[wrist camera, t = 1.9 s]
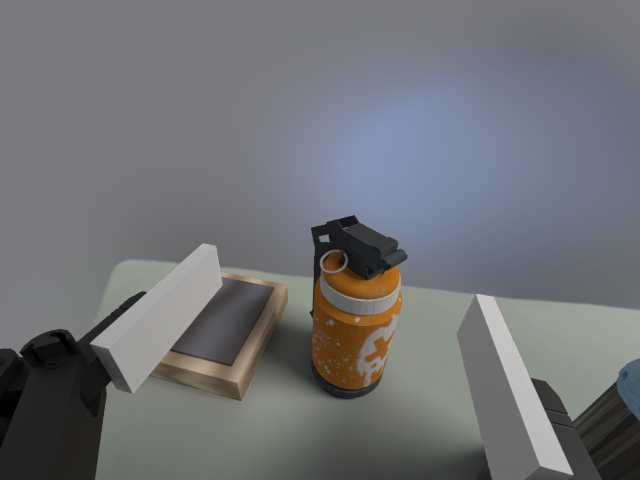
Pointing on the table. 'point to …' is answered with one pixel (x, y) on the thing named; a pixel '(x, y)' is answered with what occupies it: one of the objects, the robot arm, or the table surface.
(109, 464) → the table surface
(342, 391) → the canister
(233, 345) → the plinth
